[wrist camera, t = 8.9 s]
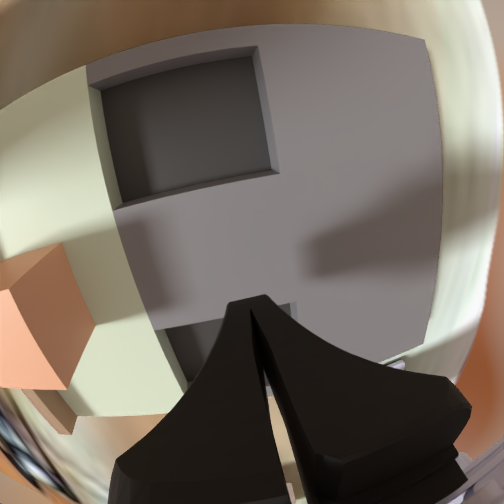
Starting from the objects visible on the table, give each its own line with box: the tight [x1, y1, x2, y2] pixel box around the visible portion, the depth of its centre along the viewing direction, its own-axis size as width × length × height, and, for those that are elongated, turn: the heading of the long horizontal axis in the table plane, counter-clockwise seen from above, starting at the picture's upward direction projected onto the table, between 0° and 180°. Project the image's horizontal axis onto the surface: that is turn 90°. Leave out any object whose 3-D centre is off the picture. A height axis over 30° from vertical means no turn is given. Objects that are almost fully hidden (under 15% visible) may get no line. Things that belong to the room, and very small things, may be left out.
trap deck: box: [0, 24, 443, 435], centre depth 12 cm, size 19×26×4 cm
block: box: [0, 242, 96, 390], centre depth 9 cm, size 4×4×4 cm
